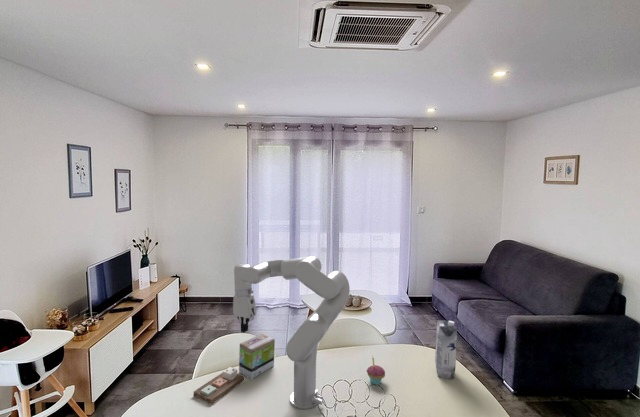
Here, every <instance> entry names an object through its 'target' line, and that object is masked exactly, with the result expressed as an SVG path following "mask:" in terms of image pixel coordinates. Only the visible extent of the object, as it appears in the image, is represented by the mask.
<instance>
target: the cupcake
mask: <svg viewBox="0 0 640 417" xmlns="http://www.w3.org/2000/svg"><path fill="white" fill-rule="evenodd" d="M371 359H372V365H370V366H369V367H368V368H367V369H366V373H367V376H368V377H369V380H370V383H371V384H373V385H380V384H381V381H382V380H383V379H384V378H385V376H386V372H385V369H384V368H383V367H382V366H380V365H378V364H377V365H375V358H374V356H373V355H372V357H371Z"/></svg>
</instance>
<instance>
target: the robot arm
mask: <svg viewBox="0 0 640 417" xmlns="http://www.w3.org/2000/svg"><path fill="white" fill-rule="evenodd" d="M321 270H322V262H321V260H320V259H319V258H318V257H316V256H311V255H310V256H305V257H303V256H302V257H297V258H295V257H294V258H289V259H276V260H269V261H268V260H267V261H263V262H260V263H258V264H256V265H253V266H251V265H250V264H248V263H240V264H237V265H235V266H234V268H233V273H234V275H233V276H234V279H233V280H234V294H233V300H232V312H233V316H234V317H235V318H236V319H237V320H238V322H239V324H240V333H244V334H245V333H246V332H248V331H249V322H250V321H254V320H255V316H256V315H257V306H256V300H255V295H254V290H253V285H257V284H259V283H261V282H263V281H265V280H266V279H269V278H274V277H282V278H283V279H284V280H286V281H287V280H289V281H290V280H296V279H297V280H298V282H300V283H302V284H303V285H304V286H305V287H306V288H308V289H309V290H311V291H312V292H313V293H315V294H316V295H317V296H318V297H321V298H323V300H322V302H321V303H320V304H319V306H318V307H317V308H316V309H315V310H314V311H313V312H312V313H311V314H309V316H308V317H306V319H305V320H304V321H303V323H301V325H300V326H299V327H298V328H297V330H296V332H295V333H294V334H293V335H292V337H291V338H290V339H289V340H288V341H287V343H286V347H285V351H286V355H287V357H288V359H290V361H292V362H293V392H291V394H290V396H289V402H290V405H292V406H293V407H294V408H296V409H299V410H308V409H312V408H314V407H316V406H317V405H320V406H322V405H323V403H324V395H320V394H319V390H318V389H316V388H317V387H316V386H317V385H316V384H317V380H316V379H317V353H318V347H319V343H320V342H321V341H322V339H323V338H324V336H325V335H326V334H327V332H328V331H329V329H330V327H331V325H332V324H333V323H334V321H335V320H336V319H337V317H338V316H339V315H340V313H341V312H342V310H343V309H344V308H345V306H346V304H347V302H348V300H349V297H350V292H351V290H350V289H351V288H350V284H349V280H348V277H347V276H346V275H345V273H343V272H342V271H340V270H334V271H330V272H329V273H328V274H327V273H326V274H325V273H323V272H322V271H321ZM252 284H253V285H252Z"/></svg>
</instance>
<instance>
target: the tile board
mask: <svg viewBox="0 0 640 417" xmlns="http://www.w3.org/2000/svg"><path fill="white" fill-rule="evenodd" d="M219 378H222V379H225V378H223V372H221V373H219V374H218V375H216V376H215V377H214V378H212V379H210V380H209V381H207V382H206V383H205V384H202V386H200V387H199V388H197V389H195V390H194V391H193V397H194V398H197V399H199V400H201V401H203V402H206V403H207V404H209V405H213V404H214V403H216V402H217V401H219V400H220V399H221V398H223V397H224V396H225V395H227V394H228V393H230V392H231V391H232V390H233V389H235V388H236V387H237V386H239V385H240V384H242V383H243V382H244V381H245V375H242V374H240V373H237V376H236V377H235V378H233V379H232V380H228V379H225V380H227V384H225V385H224V386H223V387H221V388H217V387H215V386H213V385H212V383H213V382H214V381H216V380H217V379H219ZM208 385H211V386H213V387H215V388H217V391H215V392H214V393H213V394H211V395H210V396H206V395H204V394H202V393H201V390H202V389H204V388H205V387H207V386H208Z"/></svg>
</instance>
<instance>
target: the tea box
mask: <svg viewBox="0 0 640 417" xmlns="http://www.w3.org/2000/svg"><path fill="white" fill-rule="evenodd" d="M275 341H276V340H275V339H274V338H272V337H270V336H268V335H266V334H264V333H261V334H259V335H256V336H254V337H252V338H250V339H247V340H245V341H243V342H239V352H238V353H239V354H238V355H239V357H238V362H239V363H238V372H239V374H240V373H241V375H242V374H243V376H245V377H247V378H249V379H251V380H252V379H254V378H256V377H257V376H258V375H261V374H262V373H265V372H266V371H268V370H270V369H272V368H273V367H275ZM271 367H272V368H271Z"/></svg>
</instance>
